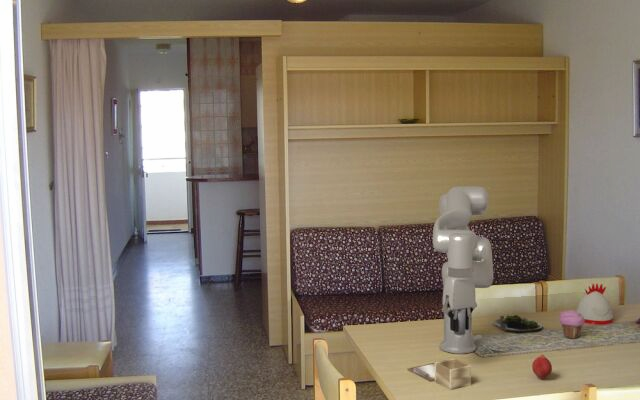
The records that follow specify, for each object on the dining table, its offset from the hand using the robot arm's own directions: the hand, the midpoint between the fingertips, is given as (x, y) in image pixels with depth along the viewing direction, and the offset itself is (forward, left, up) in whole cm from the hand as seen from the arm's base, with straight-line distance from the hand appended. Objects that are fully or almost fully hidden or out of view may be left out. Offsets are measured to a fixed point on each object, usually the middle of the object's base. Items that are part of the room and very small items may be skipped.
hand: (459, 329), depth 211 cm
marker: (0, 0, -2) cm, 2 cm away
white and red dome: (-86, -19, -14) cm, 89 cm away
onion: (-18, +17, -14) cm, 29 cm away
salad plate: (-52, -27, -15) cm, 60 cm away
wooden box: (+8, +6, -14) cm, 17 cm away
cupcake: (-60, -8, -14) cm, 62 cm away
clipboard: (+5, -4, -14) cm, 16 cm away
